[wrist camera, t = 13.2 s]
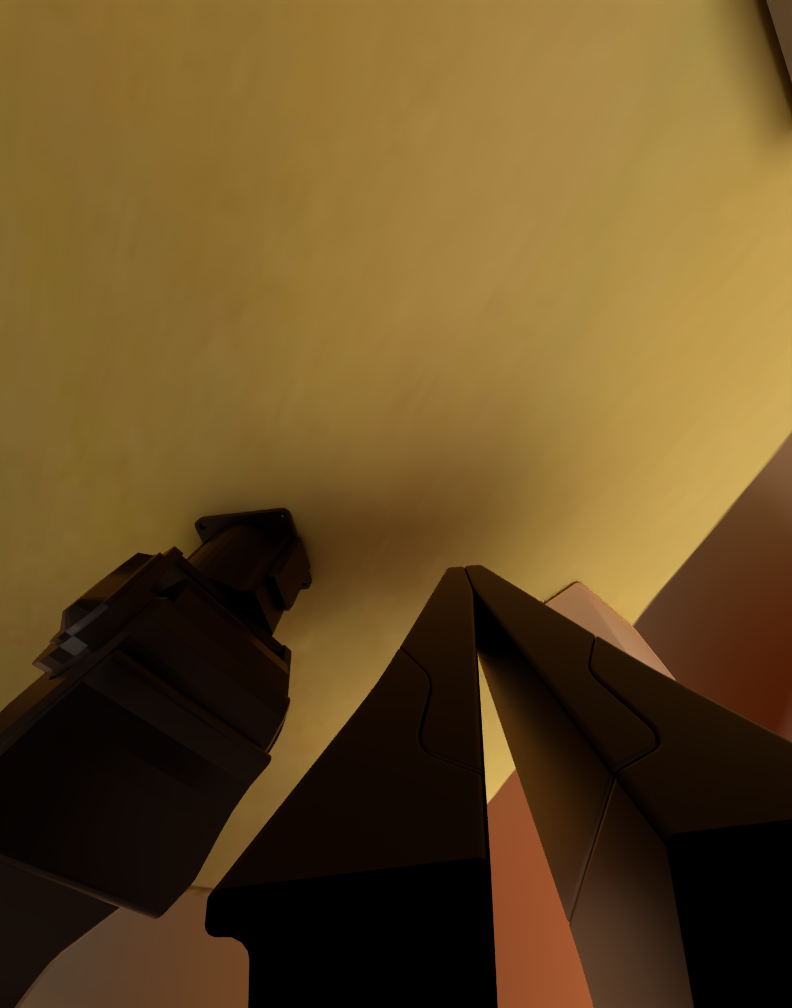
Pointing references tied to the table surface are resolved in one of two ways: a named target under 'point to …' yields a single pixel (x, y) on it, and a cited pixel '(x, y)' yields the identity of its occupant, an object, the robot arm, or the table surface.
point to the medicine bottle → (604, 623)
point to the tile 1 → (783, 27)
